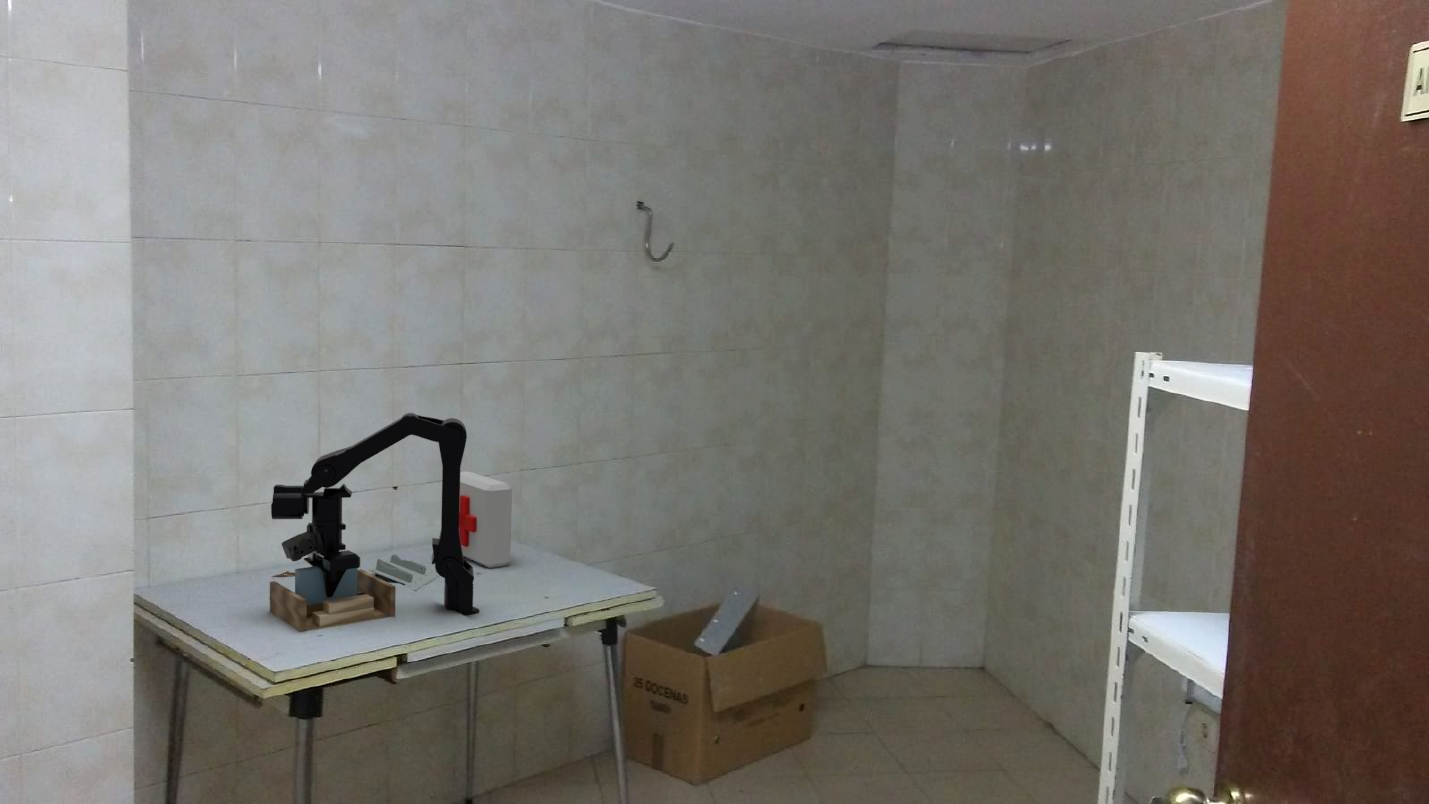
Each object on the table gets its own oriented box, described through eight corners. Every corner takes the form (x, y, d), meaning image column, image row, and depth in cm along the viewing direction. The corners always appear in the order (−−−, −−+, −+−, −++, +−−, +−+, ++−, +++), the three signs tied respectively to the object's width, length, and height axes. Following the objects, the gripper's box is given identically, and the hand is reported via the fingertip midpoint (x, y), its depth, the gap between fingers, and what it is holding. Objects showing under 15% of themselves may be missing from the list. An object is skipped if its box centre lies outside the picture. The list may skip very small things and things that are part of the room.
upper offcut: (373, 607, 231) (373, 597, 231) (329, 614, 225) (329, 604, 225) (367, 604, 234) (367, 594, 233) (323, 611, 228) (323, 601, 227)
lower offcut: (374, 617, 231) (374, 608, 231) (319, 627, 224) (319, 616, 224) (366, 613, 234) (366, 603, 234) (312, 622, 227) (312, 612, 227)
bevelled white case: (440, 552, 291) (442, 472, 289) (469, 548, 296) (471, 470, 294) (482, 570, 275) (484, 486, 273) (512, 566, 280) (514, 483, 278)
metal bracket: (363, 562, 256) (393, 547, 271) (355, 587, 257) (386, 570, 272) (422, 585, 254) (449, 569, 269) (414, 610, 255) (442, 592, 270)
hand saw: (228, 602, 243) (228, 599, 243) (211, 599, 245) (211, 596, 244) (305, 575, 266) (305, 572, 265) (289, 573, 267) (289, 570, 267)
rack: (395, 620, 233) (395, 586, 233) (301, 636, 221) (301, 600, 220) (360, 601, 245) (361, 569, 245) (269, 616, 233) (269, 581, 232)
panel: (357, 606, 238) (357, 563, 237) (298, 615, 231) (299, 571, 230) (352, 604, 240) (353, 561, 239) (294, 613, 232) (295, 569, 231)
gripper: (269, 514, 235) (269, 590, 237) (305, 532, 221) (305, 613, 223) (323, 509, 242) (322, 582, 244) (361, 526, 228) (361, 604, 230)
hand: (326, 595), depth 235 cm, fingers open, 3 cm apart
